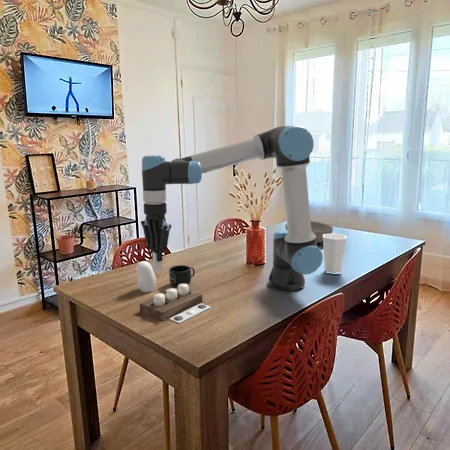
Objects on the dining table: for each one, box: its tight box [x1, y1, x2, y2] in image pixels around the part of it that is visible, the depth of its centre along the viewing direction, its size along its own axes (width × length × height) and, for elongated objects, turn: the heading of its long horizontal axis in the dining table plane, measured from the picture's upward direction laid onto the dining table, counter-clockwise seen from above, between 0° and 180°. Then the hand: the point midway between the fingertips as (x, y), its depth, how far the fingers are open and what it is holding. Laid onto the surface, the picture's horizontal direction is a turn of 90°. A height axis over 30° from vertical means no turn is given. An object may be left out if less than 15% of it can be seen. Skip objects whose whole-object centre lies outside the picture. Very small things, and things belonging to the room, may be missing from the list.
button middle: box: [165, 287, 177, 302], centre depth 143 cm, size 4×4×4 cm
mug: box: [168, 264, 196, 288], centre depth 165 cm, size 12×9×7 cm
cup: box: [322, 232, 348, 273], centre depth 177 cm, size 11×10×17 cm
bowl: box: [284, 220, 334, 244], centre depth 231 cm, size 28×28×10 cm
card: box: [168, 302, 212, 324], centre depth 138 cm, size 5×16×1 cm, turn 141°
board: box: [139, 287, 203, 321], centre depth 143 cm, size 12×20×3 cm, turn 141°
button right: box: [177, 284, 190, 297], centre depth 147 cm, size 4×4×4 cm
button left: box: [152, 292, 165, 308], centre depth 138 cm, size 4×4×4 cm
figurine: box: [135, 260, 157, 293], centre depth 158 cm, size 7×8×12 cm
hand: (157, 269), depth 136 cm, fingers closed
